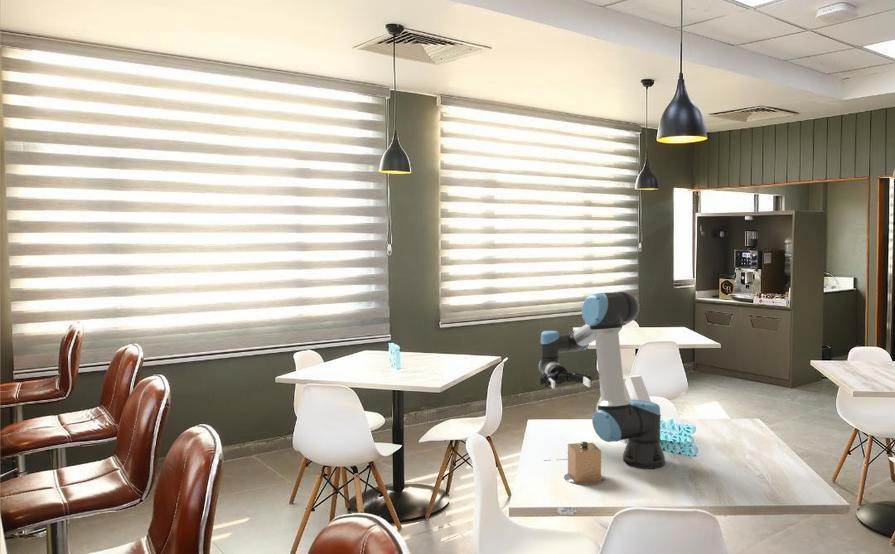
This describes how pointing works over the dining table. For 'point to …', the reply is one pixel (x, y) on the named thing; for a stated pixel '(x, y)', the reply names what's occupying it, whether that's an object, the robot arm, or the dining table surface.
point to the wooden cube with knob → (584, 462)
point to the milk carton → (634, 391)
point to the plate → (583, 483)
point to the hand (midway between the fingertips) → (571, 384)
